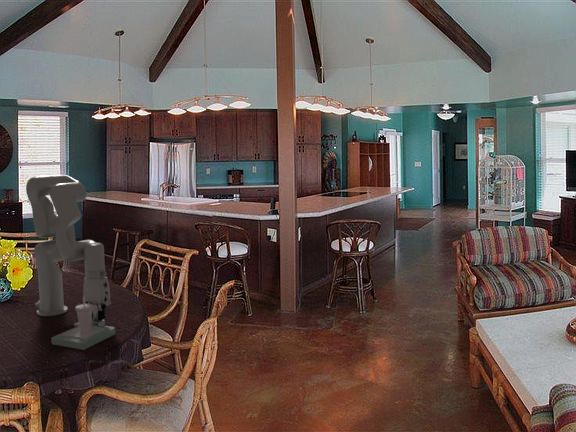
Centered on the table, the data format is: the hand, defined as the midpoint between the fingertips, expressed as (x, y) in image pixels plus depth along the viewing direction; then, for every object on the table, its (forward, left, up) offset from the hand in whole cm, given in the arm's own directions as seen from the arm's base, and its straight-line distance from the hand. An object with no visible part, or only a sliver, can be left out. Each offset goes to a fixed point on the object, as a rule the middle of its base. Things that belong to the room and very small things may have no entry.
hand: (97, 318), depth 213 cm
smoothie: (+3, -10, -1) cm, 11 cm away
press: (0, -9, -4) cm, 10 cm away
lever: (0, 0, -3) cm, 3 cm away
